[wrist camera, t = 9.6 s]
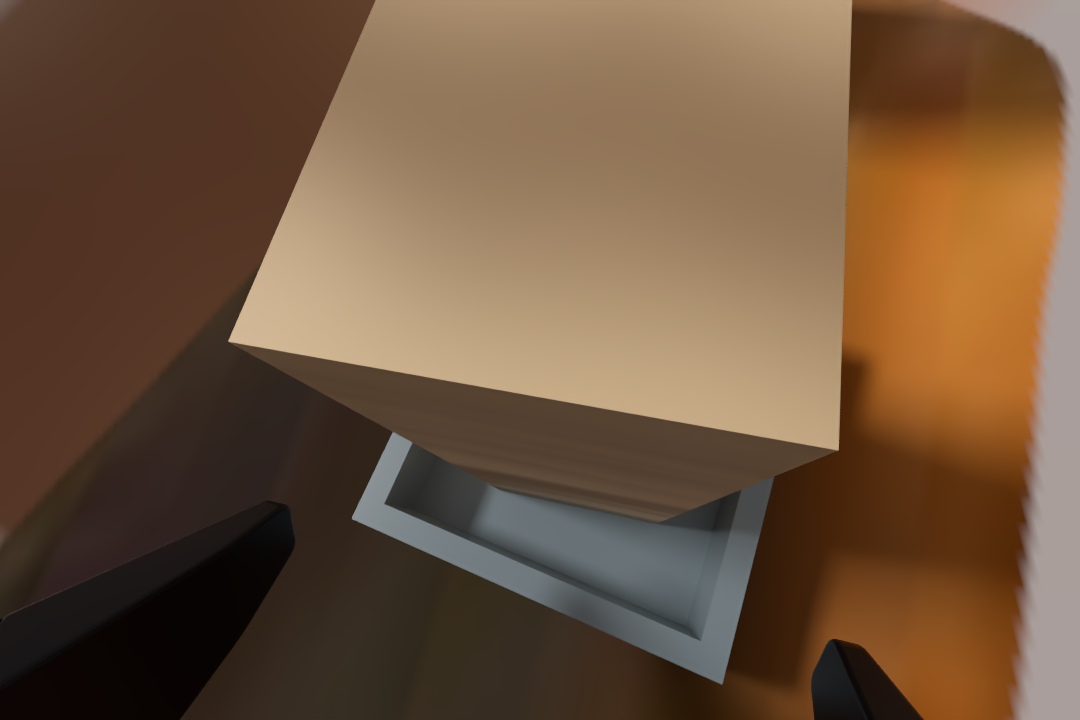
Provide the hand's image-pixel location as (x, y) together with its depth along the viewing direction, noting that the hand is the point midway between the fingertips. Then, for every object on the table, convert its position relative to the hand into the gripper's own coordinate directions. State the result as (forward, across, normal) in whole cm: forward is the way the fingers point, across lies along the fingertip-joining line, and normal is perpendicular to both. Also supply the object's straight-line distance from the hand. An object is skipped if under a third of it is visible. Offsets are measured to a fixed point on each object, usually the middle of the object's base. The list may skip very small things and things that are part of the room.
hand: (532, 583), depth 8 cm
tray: (+9, 0, +3) cm, 9 cm away
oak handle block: (+8, 0, +2) cm, 9 cm away
